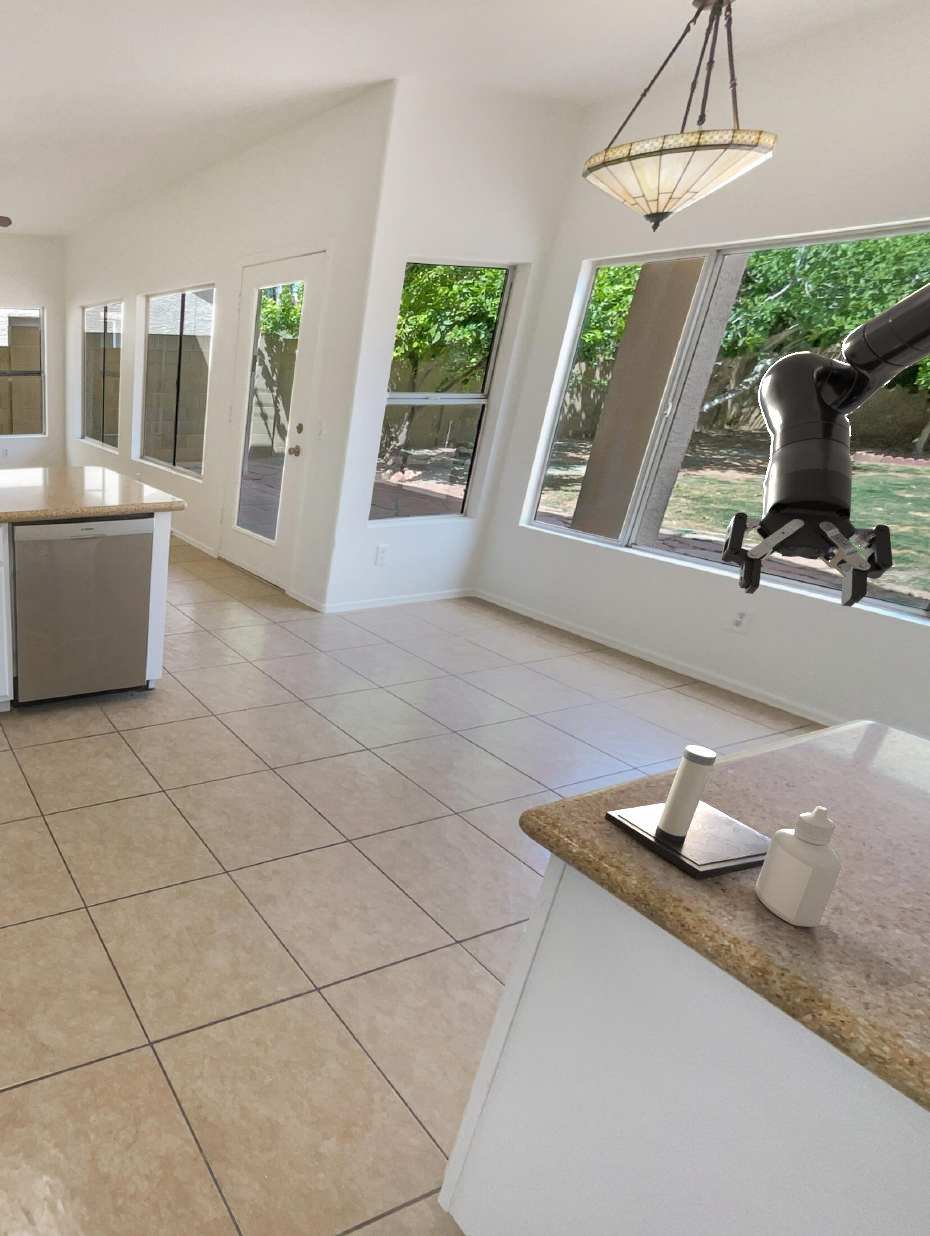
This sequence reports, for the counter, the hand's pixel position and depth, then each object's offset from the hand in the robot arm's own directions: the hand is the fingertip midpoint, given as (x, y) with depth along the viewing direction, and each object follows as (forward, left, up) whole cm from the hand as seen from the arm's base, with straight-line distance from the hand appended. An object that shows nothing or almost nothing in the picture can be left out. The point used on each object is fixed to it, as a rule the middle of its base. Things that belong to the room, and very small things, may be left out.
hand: (800, 596), depth 81 cm
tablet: (+14, +7, -27) cm, 31 cm away
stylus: (+18, +7, -26) cm, 32 cm away
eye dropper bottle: (+17, +18, -27) cm, 37 cm away
